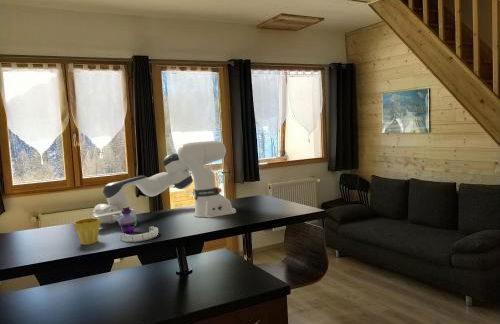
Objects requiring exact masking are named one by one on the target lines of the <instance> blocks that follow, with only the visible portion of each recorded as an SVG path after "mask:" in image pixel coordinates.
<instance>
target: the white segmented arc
mask: <svg viewBox="0 0 500 324" xmlns="http://www.w3.org/2000/svg"><path fill="white" fill-rule="evenodd" d="M158 233H159V227H156V226H149V227H148V232H144V233H139V234H125V233H123V232H121V233H119V235H118V236H119V240H120V241H121V242H124V243H125V242H127V243H129V242H130V243H135V242H143V241H147V240H152V239H154V238H156V237H158V236H159V234H158ZM157 235H158V236H157Z"/></svg>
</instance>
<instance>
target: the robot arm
mask: <svg viewBox="0 0 500 324" xmlns="http://www.w3.org/2000/svg"><path fill="white" fill-rule="evenodd" d="M226 153H227V149H226V146H225V144H224V143H223V142H222V141H217V140H208V141H196V142H187V143H184V144H181V145H180V146H179V147H178V150H177V153H171V154H168V155H165V157H164V159H162V162H161V163H162V167H164V169H165V171H163V172H159V173H156V174H154V175H151V176H149V177H147V176H145V175H137V176H133V177H129V178H125V179H122V180H119V181H113V182H108V183H107V184H105V186H104V187H103V189H102V193H103V195H104V197H105V199H106V201H107V203H108V204H106V203H99V204H98V203H97V204H96V205H94V208H93V210H92V214H91V215H92V218H99V219H100V224H114V223H116V222H118V219H119V218H121V217H123V216H124V215H123V214H122V212H121V211H122V210H123V208H124V207H129V208H130V209H131V213H130V215H131V216H137V215H136V209H135V208H131V205H130V203H129V200H128V198H127V196H126V193H125V188H128V187H131V186H136V187H137V188H138V189H139V190H140V191H141V192H142V194H144V195H146V197H147V196H148V197H156V196H158V195H159V194H162V193H163V192H164V191H166V190H167V189H168V188H170V187H171V186H173V187H172V188H174V189H175V188H176V189H178V190H185V189H187V188H189V187H191V184H193V183H194V189H193V190H194V191H193V195H194V199H195V205H194V214H193V216H194V217H198V218H209V219H210V218H215V217H222V216H227V215H232V214H236V213H237V210H236V208H234V207H232V203H231V201H230V200H229V199H228V198H227V197H225V196H224V195H222V194H221V192H222V189H221V188H219V187H217V186H216V177H215V176H216V175H215V173H214V172H213V170H211V169H209V168H207V167H205V165H209V164H211V163H213V162H217V161H219V160H224V158H225V157H226ZM190 172H191V173H190ZM191 174H192V175H191Z"/></svg>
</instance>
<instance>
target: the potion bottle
mask: <svg viewBox="0 0 500 324" xmlns="http://www.w3.org/2000/svg"><path fill="white" fill-rule="evenodd" d="M131 209H132V208H131V207H130V208H129V207H124V208H123V210H122V211H121V212H122V214H123V215H124V216H123V217H121V218H119V219H118V220H117V222H118V225H119V226H120V228H121V233H126V234H127V235H131V234H134V233H135V229H136V226H137V215H135V216H131V215H130V213H131Z"/></svg>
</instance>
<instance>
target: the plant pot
mask: <svg viewBox="0 0 500 324" xmlns="http://www.w3.org/2000/svg"><path fill="white" fill-rule="evenodd" d="M73 226H74V231H76V232H77V236H78V238H79V240H80V244H81V245H83V246H86V245H87V246H88V245H92V244H95V243H97V242H98V239H99V233H100V232H99V231H100V227H101V223H100V219H99V218H93V217H90V218H83V219H79V220H75V221H74V222H73Z"/></svg>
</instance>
